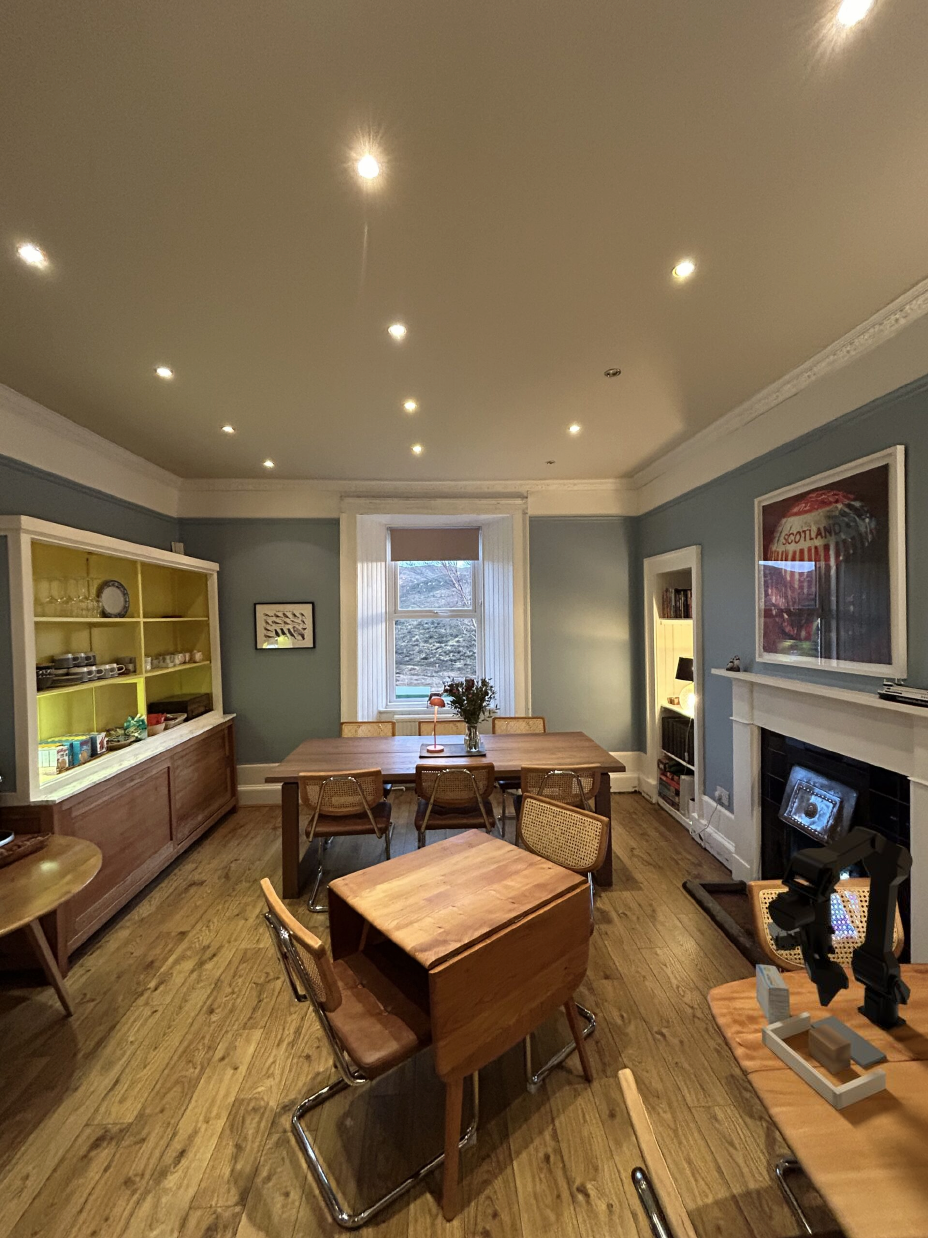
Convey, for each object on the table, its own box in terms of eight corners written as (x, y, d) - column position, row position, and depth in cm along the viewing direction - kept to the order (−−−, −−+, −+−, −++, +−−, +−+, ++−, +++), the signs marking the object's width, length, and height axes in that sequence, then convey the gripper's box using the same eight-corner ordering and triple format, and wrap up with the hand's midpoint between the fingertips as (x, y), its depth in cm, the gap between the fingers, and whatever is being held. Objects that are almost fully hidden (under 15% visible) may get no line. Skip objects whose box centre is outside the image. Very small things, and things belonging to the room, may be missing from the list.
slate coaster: (832, 1018, 115) (832, 1015, 115) (886, 1058, 105) (886, 1055, 105) (810, 1026, 113) (810, 1023, 113) (862, 1068, 103) (862, 1065, 103)
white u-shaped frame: (806, 1025, 113) (806, 1012, 113) (885, 1088, 98) (885, 1073, 98) (761, 1041, 109) (761, 1028, 109) (837, 1110, 94) (837, 1094, 94)
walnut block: (826, 1047, 108) (825, 1024, 108) (850, 1067, 103) (850, 1043, 103) (808, 1054, 106) (808, 1030, 106) (832, 1075, 101) (832, 1050, 101)
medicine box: (790, 1029, 113) (790, 990, 112) (768, 1026, 113) (768, 987, 113) (776, 1002, 120) (776, 965, 120) (755, 999, 121) (755, 963, 121)
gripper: (761, 886, 118) (762, 953, 118) (781, 937, 100) (783, 1015, 101) (817, 894, 114) (819, 962, 114) (849, 947, 96) (851, 1028, 97)
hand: (816, 989), depth 107 cm, fingers open, 9 cm apart
